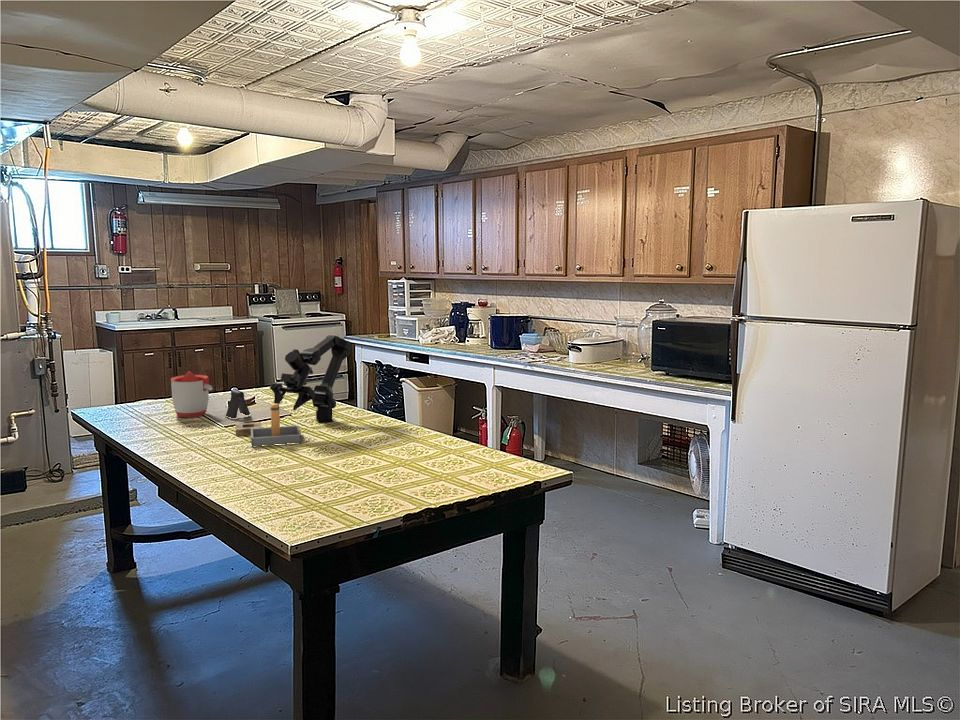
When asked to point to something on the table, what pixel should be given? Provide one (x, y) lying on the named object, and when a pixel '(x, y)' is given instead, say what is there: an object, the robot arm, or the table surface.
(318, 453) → the table surface
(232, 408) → the dark grey a-frame piece
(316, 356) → the robot arm
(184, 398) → the citrus juicer
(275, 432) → the pin
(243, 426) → the socket block
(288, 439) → the tray
